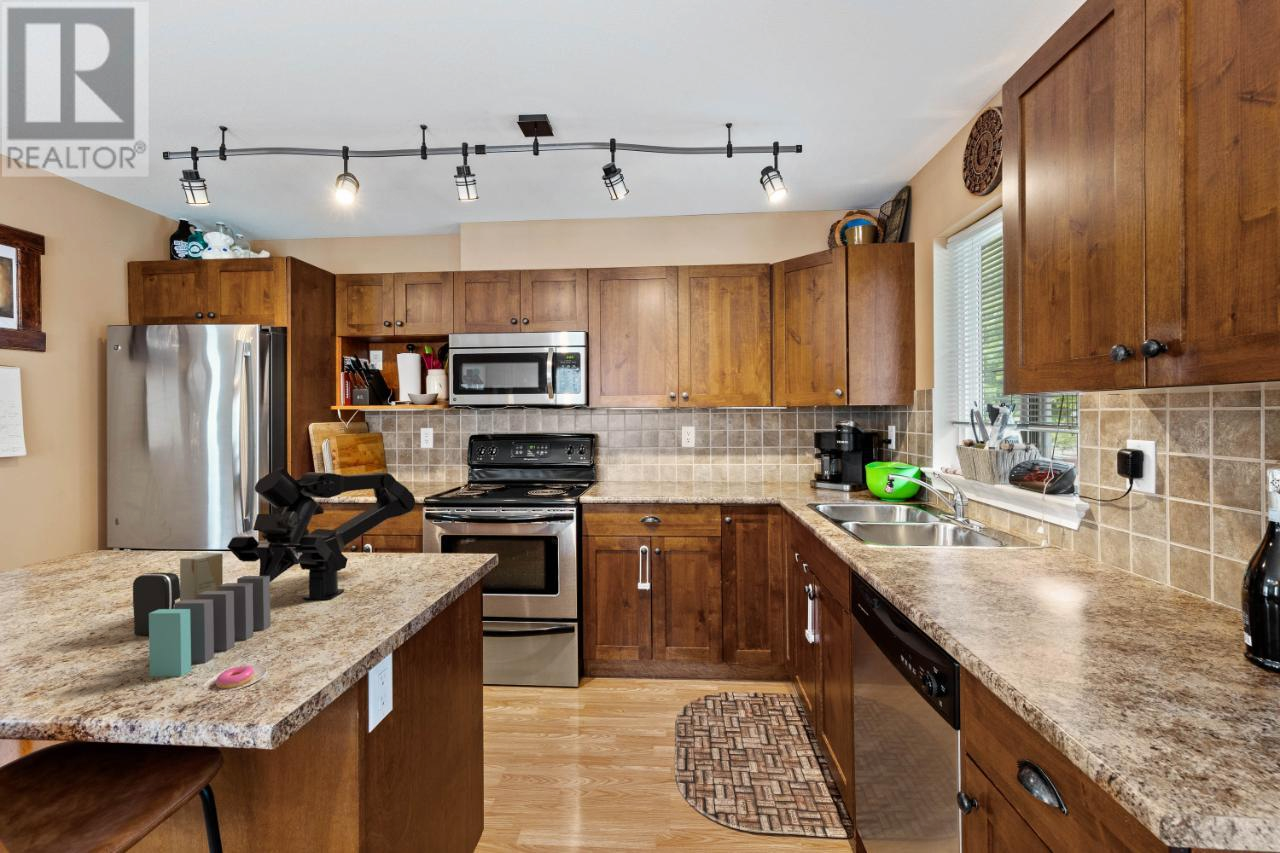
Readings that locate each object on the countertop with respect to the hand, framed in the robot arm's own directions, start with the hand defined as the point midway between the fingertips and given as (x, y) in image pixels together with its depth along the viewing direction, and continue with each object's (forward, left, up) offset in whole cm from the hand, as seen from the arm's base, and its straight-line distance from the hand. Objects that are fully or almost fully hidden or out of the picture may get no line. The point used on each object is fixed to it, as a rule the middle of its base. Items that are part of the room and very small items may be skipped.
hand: (261, 585), depth 115 cm
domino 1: (+22, 0, -8) cm, 24 cm away
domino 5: (+2, 0, -8) cm, 8 cm away
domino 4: (+7, 0, -8) cm, 11 cm away
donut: (+24, +13, -8) cm, 28 cm away
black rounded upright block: (+4, -17, -8) cm, 19 cm away
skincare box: (-7, -17, -8) cm, 20 cm away
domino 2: (+17, 0, -8) cm, 19 cm away
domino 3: (+12, 0, -8) cm, 15 cm away
